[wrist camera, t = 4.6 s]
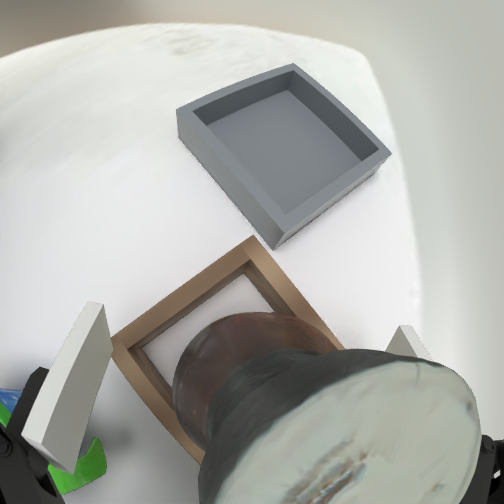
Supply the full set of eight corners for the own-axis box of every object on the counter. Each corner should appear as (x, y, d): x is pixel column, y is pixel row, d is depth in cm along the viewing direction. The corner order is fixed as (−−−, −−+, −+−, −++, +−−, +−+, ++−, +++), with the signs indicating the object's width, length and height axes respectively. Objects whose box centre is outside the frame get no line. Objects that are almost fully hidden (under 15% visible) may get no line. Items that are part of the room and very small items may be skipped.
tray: (178, 137, 26) (176, 109, 22) (285, 88, 30) (293, 63, 26) (272, 250, 24) (284, 233, 20) (373, 174, 28) (392, 153, 24)
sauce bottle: (178, 335, 21) (-9, 302, 2) (256, 308, 22) (446, 161, 4) (210, 414, 20) (222, 647, 1) (286, 385, 21) (520, 483, 2)
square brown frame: (120, 343, 20) (102, 343, 16) (246, 251, 24) (253, 234, 20) (221, 464, 18) (223, 486, 14) (341, 369, 22) (364, 373, 18)
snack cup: (117, 386, 19) (55, 413, 9) (133, 497, 16) (99, 563, 6) (-18, 360, 17) (-90, 355, 7) (-3, 457, 14) (-62, 480, 4)
